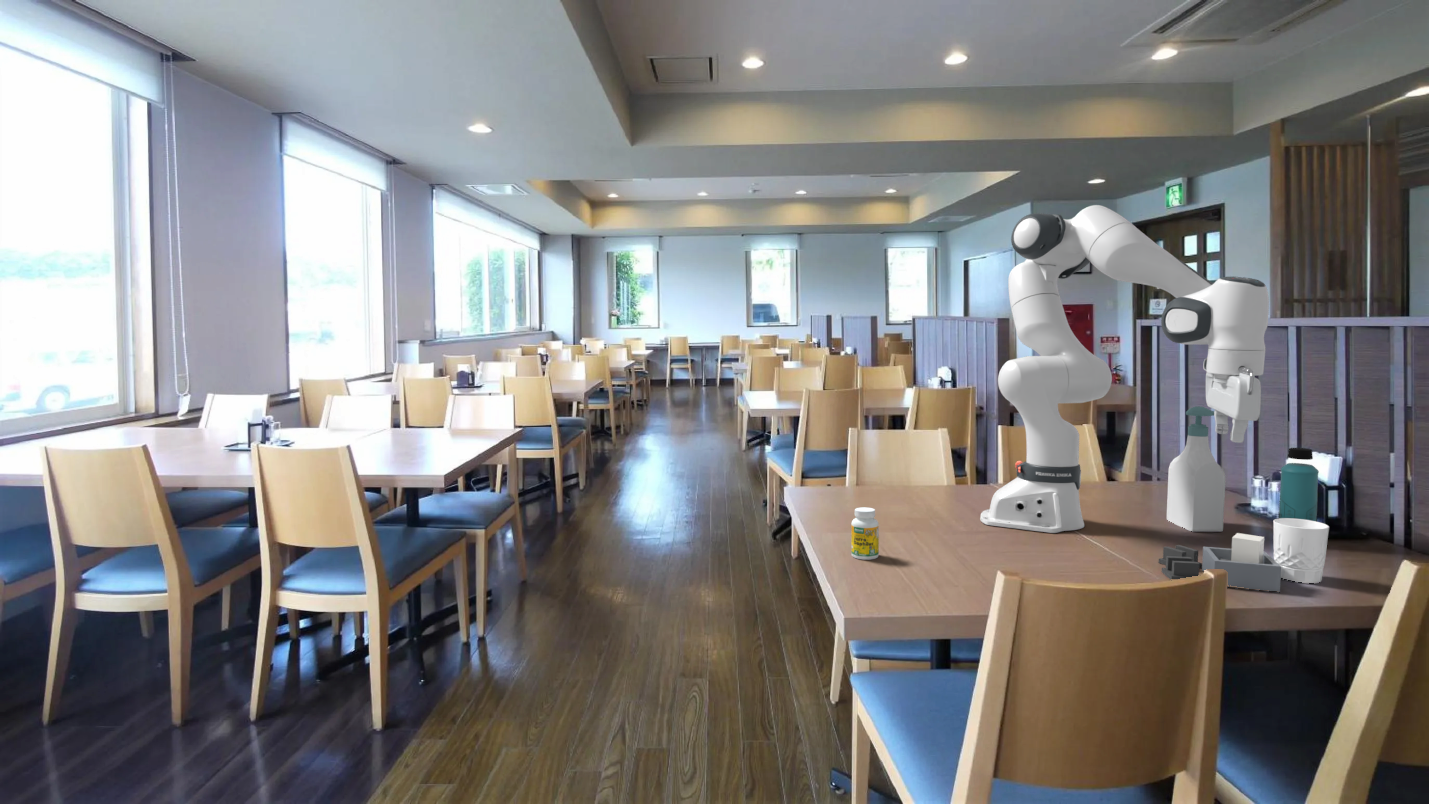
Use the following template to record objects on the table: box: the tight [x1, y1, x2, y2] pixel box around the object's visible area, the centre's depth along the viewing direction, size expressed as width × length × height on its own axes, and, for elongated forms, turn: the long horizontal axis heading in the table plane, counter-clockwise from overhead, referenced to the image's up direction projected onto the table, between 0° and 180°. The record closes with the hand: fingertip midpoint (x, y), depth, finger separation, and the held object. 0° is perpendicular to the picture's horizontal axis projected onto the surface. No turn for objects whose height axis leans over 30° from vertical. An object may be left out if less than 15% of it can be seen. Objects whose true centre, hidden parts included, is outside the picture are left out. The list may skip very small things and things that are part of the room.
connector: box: [1220, 532, 1265, 564], centre depth 136 cm, size 6×4×7 cm, turn 45°
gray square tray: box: [1201, 546, 1281, 593], centre depth 136 cm, size 10×10×4 cm
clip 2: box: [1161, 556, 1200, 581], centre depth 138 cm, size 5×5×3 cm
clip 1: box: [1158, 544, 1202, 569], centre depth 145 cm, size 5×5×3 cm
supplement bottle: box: [850, 506, 880, 561], centre depth 153 cm, size 5×5×10 cm
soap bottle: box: [1166, 406, 1227, 533], centre depth 173 cm, size 11×8×27 cm
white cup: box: [1272, 518, 1330, 584], centre depth 137 cm, size 8×8×10 cm
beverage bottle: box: [1277, 447, 1319, 522], centre depth 159 cm, size 6×7×20 cm
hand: (1228, 437), depth 144 cm, fingers open, 8 cm apart
